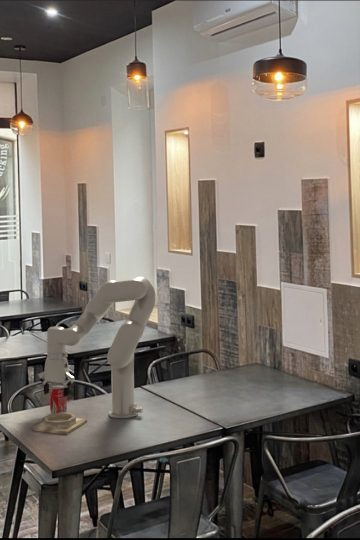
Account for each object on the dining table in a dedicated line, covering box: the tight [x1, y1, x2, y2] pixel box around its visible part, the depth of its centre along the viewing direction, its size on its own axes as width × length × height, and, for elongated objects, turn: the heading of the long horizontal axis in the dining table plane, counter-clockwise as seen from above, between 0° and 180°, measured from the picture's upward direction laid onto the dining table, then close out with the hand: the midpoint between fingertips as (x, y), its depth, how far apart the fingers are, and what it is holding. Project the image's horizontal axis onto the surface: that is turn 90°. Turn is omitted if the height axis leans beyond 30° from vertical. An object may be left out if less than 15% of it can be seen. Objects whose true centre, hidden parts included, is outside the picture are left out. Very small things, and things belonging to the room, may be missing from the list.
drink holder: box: [31, 412, 88, 435], centre depth 266 cm, size 16×16×4 cm
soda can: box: [49, 384, 68, 414], centre depth 282 cm, size 7×7×12 cm
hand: (56, 394), depth 282 cm, fingers open, 9 cm apart
